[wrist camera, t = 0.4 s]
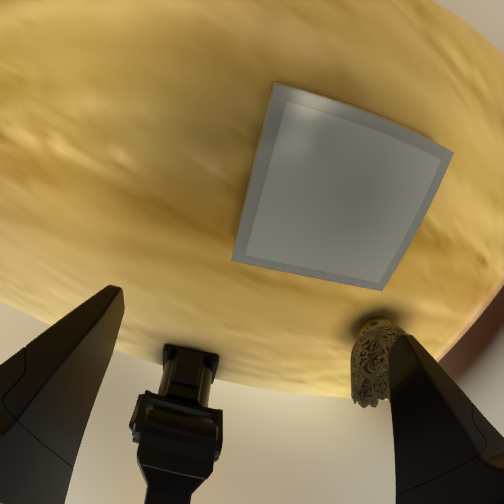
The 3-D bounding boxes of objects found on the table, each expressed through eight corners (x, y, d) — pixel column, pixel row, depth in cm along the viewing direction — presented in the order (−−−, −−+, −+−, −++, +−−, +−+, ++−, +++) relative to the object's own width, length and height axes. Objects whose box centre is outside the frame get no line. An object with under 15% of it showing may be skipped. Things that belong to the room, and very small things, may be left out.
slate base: (372, 267, 25) (382, 291, 22) (235, 237, 23) (231, 261, 21) (432, 139, 18) (454, 153, 15) (274, 81, 16) (275, 84, 14)
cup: (336, 349, 31) (345, 413, 25) (344, 303, 27) (360, 375, 21) (397, 342, 31) (414, 401, 24) (414, 297, 26) (441, 362, 20)
